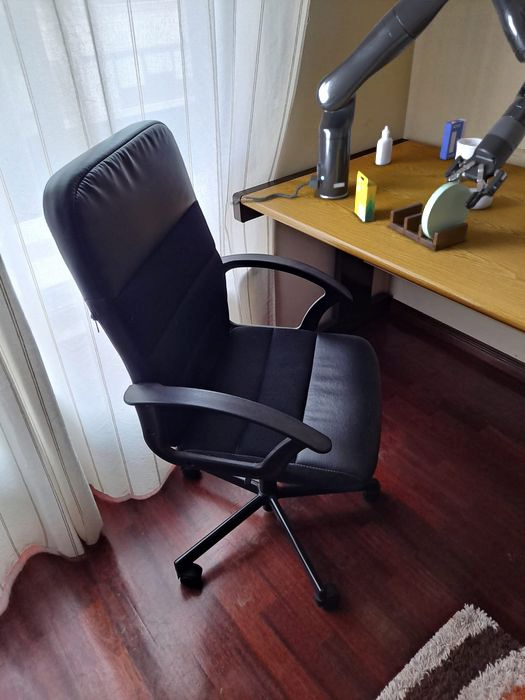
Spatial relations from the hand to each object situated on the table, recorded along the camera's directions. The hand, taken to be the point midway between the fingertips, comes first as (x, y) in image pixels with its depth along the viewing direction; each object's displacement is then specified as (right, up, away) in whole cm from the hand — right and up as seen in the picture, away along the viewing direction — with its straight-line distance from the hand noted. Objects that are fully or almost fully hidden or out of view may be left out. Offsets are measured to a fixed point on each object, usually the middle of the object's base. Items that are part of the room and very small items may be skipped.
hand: (454, 202), depth 119 cm
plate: (-1, -8, +5) cm, 10 cm away
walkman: (+20, +32, +55) cm, 67 cm away
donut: (+14, +6, +22) cm, 27 cm away
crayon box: (-18, +2, +19) cm, 26 cm away
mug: (+20, +21, +41) cm, 50 cm away
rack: (-4, -5, +9) cm, 11 cm away
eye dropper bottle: (-4, +29, +53) cm, 61 cm away
